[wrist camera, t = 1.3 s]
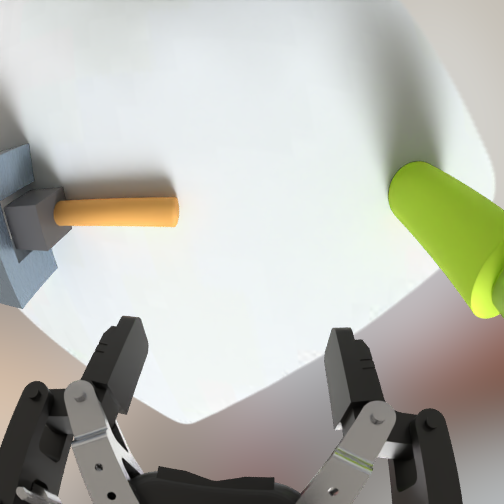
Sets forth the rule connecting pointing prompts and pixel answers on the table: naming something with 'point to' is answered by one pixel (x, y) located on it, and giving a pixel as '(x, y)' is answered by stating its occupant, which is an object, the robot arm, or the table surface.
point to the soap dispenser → (454, 232)
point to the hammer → (80, 215)
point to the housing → (3, 249)
